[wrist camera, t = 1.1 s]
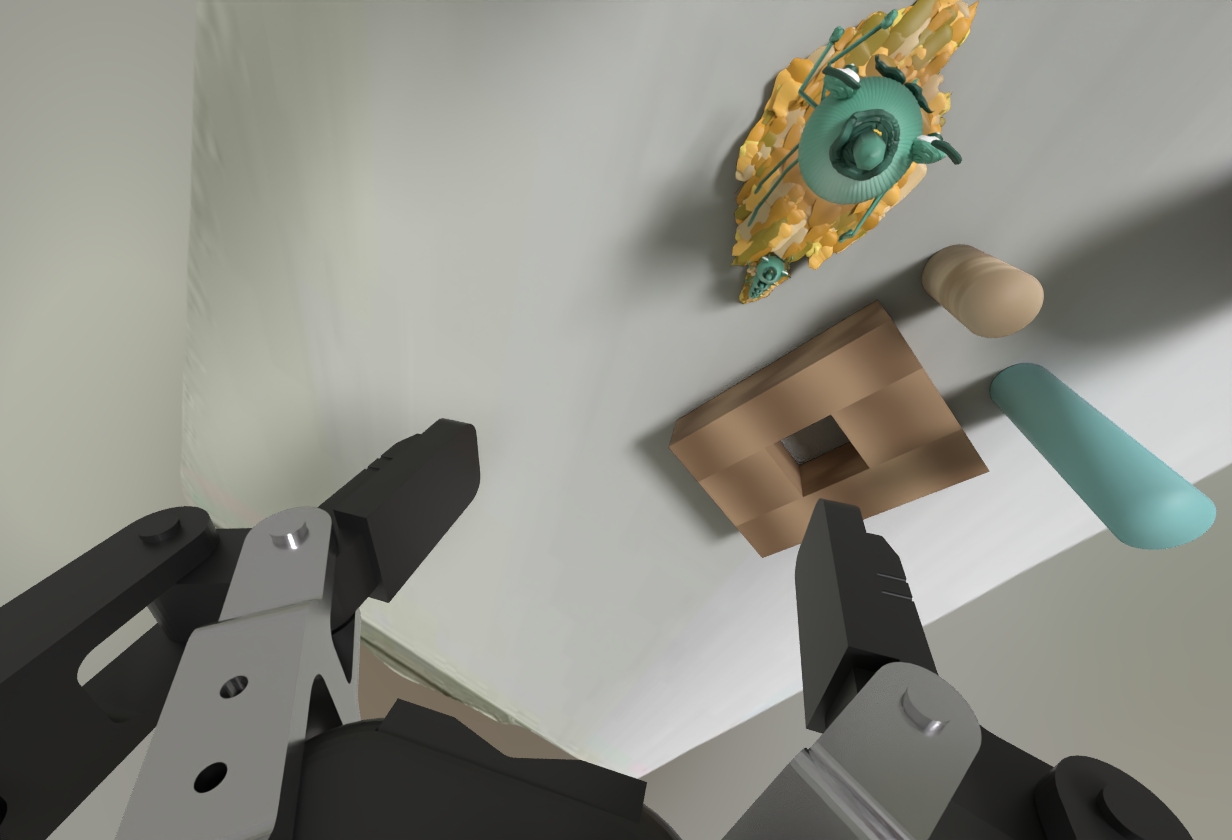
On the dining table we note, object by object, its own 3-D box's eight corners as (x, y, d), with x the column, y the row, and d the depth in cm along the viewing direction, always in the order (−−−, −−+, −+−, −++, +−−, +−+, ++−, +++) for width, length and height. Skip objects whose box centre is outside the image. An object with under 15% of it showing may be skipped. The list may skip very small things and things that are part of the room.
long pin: (1037, 353, 30) (1199, 476, 19) (1060, 392, 30) (1228, 532, 19) (980, 380, 31) (1098, 507, 20) (1002, 417, 32) (1128, 559, 21)
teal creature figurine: (658, 237, 32) (612, 259, 19) (883, -62, 24) (1072, -381, 11) (766, 329, 33) (793, 410, 20) (1015, 69, 25) (1334, -81, 12)
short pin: (969, 232, 27) (1025, 256, 22) (994, 277, 28) (1055, 312, 22) (911, 267, 29) (949, 298, 23) (937, 309, 30) (980, 350, 24)
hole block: (877, 299, 30) (891, 319, 27) (966, 438, 33) (989, 471, 30) (676, 420, 38) (668, 446, 35) (762, 524, 41) (762, 558, 38)
